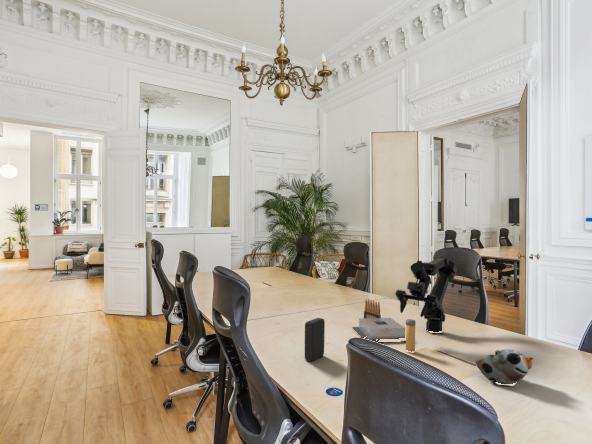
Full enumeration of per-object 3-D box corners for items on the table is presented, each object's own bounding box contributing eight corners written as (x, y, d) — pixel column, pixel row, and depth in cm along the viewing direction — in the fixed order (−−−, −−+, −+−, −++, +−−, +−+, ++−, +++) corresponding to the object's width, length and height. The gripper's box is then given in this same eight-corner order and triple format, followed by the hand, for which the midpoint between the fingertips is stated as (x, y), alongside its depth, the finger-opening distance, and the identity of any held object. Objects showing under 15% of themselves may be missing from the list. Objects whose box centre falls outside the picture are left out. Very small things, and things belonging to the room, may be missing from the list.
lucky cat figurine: (502, 369, 125) (524, 341, 120) (524, 397, 114) (549, 368, 109) (467, 359, 122) (488, 330, 117) (486, 388, 111) (510, 357, 106)
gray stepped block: (393, 326, 174) (393, 316, 174) (413, 341, 153) (413, 329, 153) (351, 328, 172) (352, 317, 172) (366, 343, 150) (366, 331, 150)
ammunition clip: (363, 320, 186) (363, 298, 186) (365, 319, 187) (366, 298, 187) (378, 325, 177) (378, 302, 177) (381, 324, 178) (381, 301, 178)
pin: (412, 349, 143) (412, 319, 143) (416, 353, 139) (417, 321, 139) (403, 350, 142) (404, 319, 142) (408, 353, 139) (408, 322, 139)
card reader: (317, 353, 138) (317, 316, 138) (325, 355, 136) (325, 318, 136) (303, 360, 131) (303, 321, 131) (311, 363, 129) (312, 323, 129)
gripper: (397, 272, 158) (384, 300, 151) (437, 277, 145) (426, 308, 138) (404, 286, 164) (393, 314, 156) (444, 292, 151) (434, 322, 143)
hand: (410, 314), depth 148 cm, fingers open, 9 cm apart
